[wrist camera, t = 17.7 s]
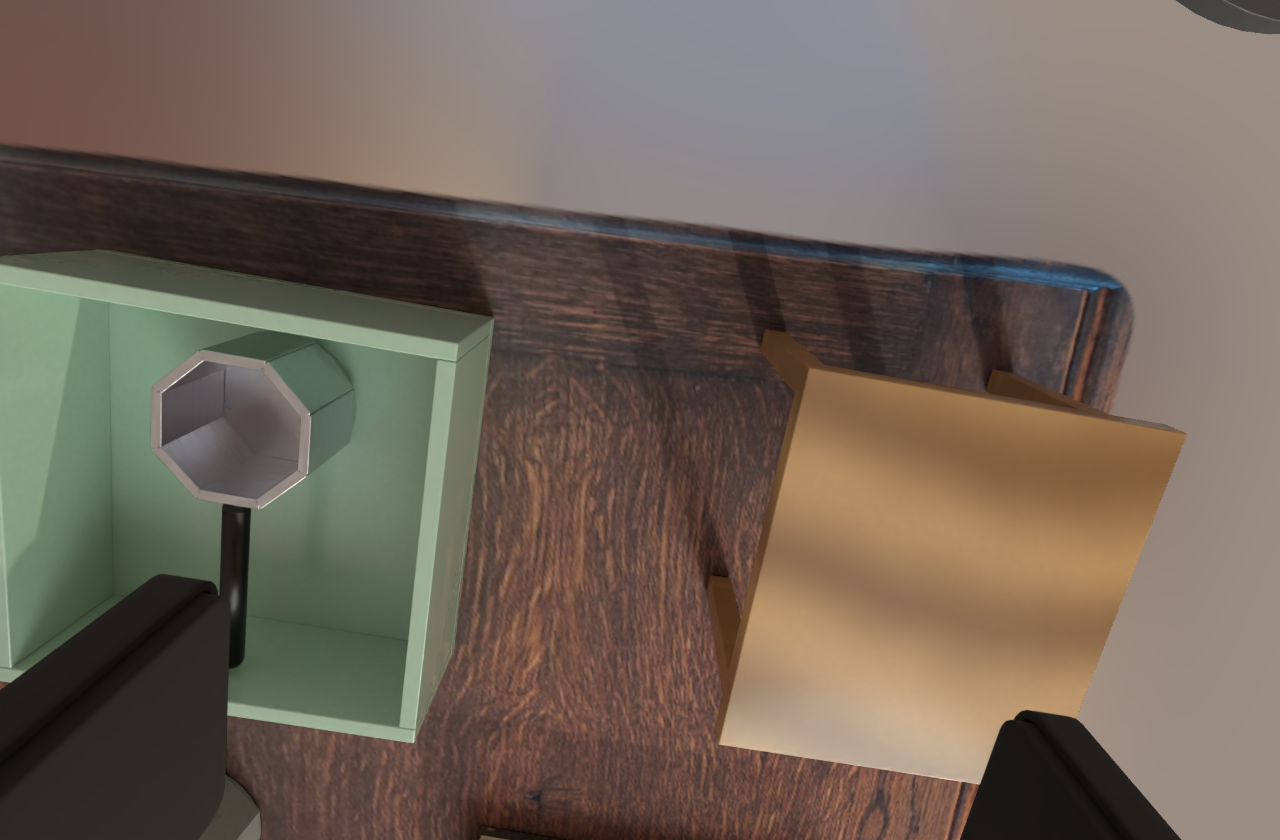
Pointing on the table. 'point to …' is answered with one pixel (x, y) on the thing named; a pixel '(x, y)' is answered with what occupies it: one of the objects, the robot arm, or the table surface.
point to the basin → (191, 528)
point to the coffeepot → (234, 816)
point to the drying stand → (930, 566)
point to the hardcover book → (507, 835)
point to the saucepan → (249, 436)
